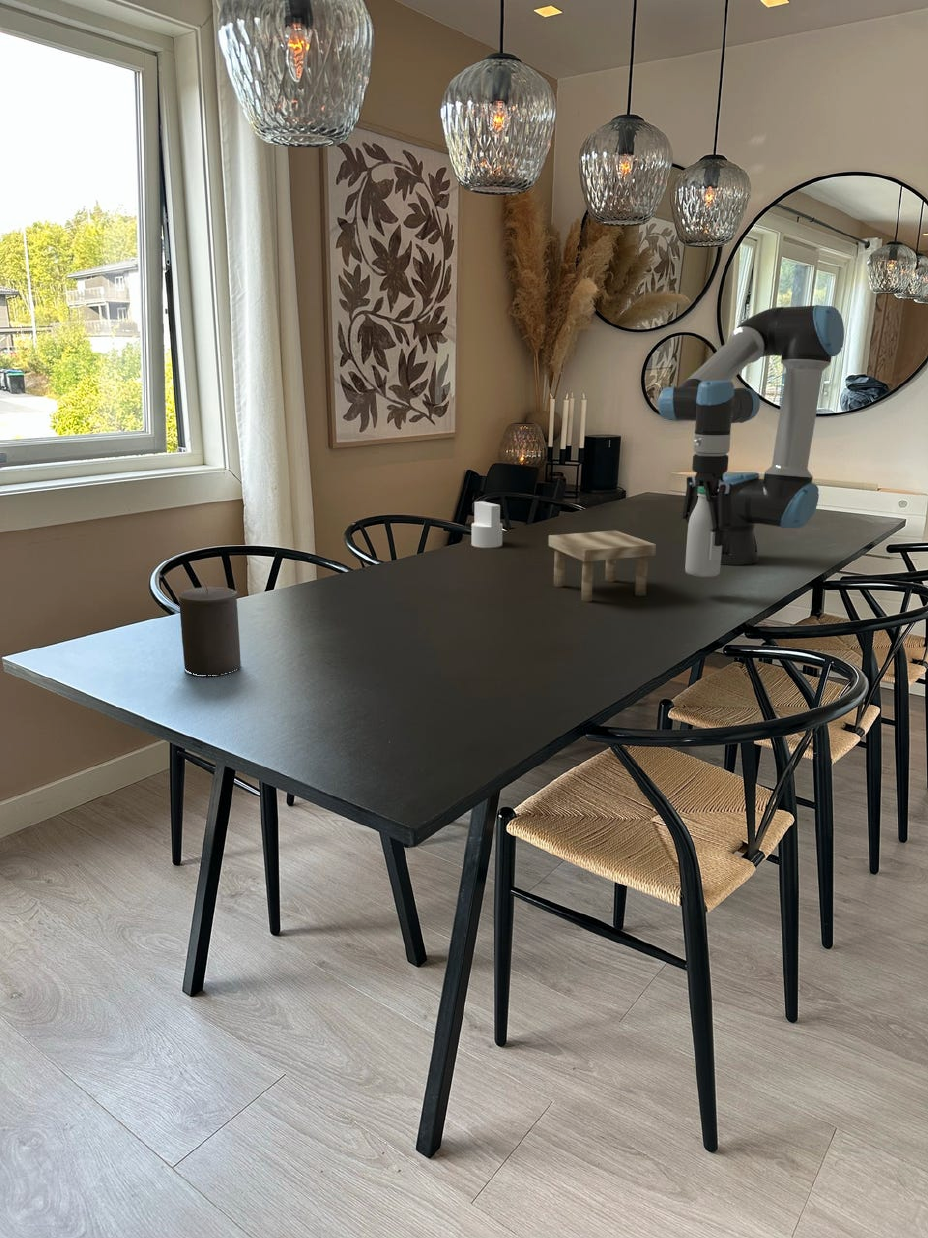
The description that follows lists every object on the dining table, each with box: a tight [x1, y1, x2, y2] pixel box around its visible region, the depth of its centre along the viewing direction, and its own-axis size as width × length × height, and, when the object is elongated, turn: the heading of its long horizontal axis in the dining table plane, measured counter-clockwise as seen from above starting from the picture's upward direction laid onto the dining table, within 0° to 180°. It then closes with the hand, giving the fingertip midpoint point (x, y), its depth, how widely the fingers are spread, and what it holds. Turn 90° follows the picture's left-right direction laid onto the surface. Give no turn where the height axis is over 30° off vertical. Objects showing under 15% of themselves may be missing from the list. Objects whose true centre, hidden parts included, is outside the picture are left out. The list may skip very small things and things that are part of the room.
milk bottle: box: [684, 486, 722, 578], centre depth 199 cm, size 8×8×20 cm
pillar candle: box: [178, 585, 242, 676], centre depth 155 cm, size 10×10×15 cm
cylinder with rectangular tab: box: [470, 500, 503, 549], centre depth 257 cm, size 9×9×12 cm
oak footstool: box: [548, 530, 657, 603], centre depth 207 cm, size 18×18×12 cm
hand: (703, 555), depth 201 cm, fingers closed on milk bottle, 8 cm apart
